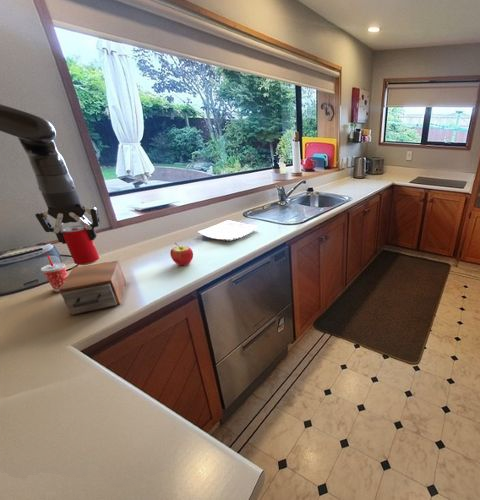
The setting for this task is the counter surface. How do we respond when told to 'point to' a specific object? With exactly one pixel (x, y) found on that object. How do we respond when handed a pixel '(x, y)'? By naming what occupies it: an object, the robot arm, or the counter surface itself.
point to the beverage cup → (55, 274)
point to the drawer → (89, 298)
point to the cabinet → (96, 279)
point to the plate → (228, 230)
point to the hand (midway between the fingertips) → (79, 241)
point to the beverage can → (80, 245)
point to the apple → (181, 255)
